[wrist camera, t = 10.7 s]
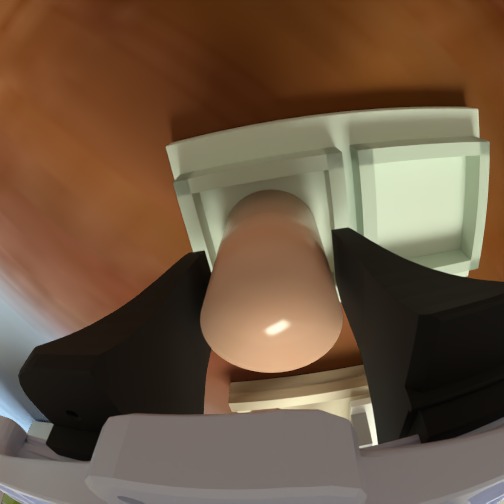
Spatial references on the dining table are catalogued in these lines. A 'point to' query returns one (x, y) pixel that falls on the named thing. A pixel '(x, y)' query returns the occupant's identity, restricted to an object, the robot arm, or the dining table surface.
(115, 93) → the dining table surface
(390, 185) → the socket board
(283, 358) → the peg
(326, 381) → the plate
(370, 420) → the lid
